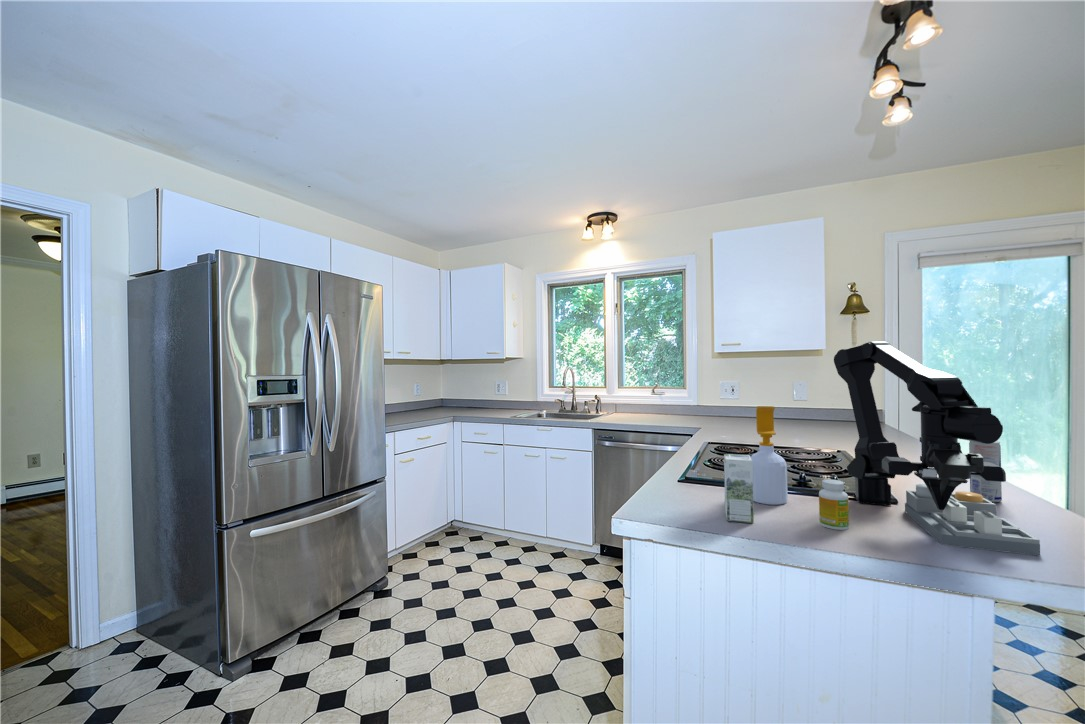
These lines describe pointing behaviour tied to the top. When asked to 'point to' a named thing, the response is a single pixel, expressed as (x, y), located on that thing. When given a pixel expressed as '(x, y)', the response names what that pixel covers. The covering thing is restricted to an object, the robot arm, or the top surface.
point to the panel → (969, 527)
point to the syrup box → (738, 488)
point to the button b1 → (923, 491)
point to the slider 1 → (955, 512)
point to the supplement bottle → (833, 505)
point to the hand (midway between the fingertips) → (940, 509)
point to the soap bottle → (768, 463)
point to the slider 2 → (987, 523)
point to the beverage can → (977, 483)
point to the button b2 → (968, 496)
